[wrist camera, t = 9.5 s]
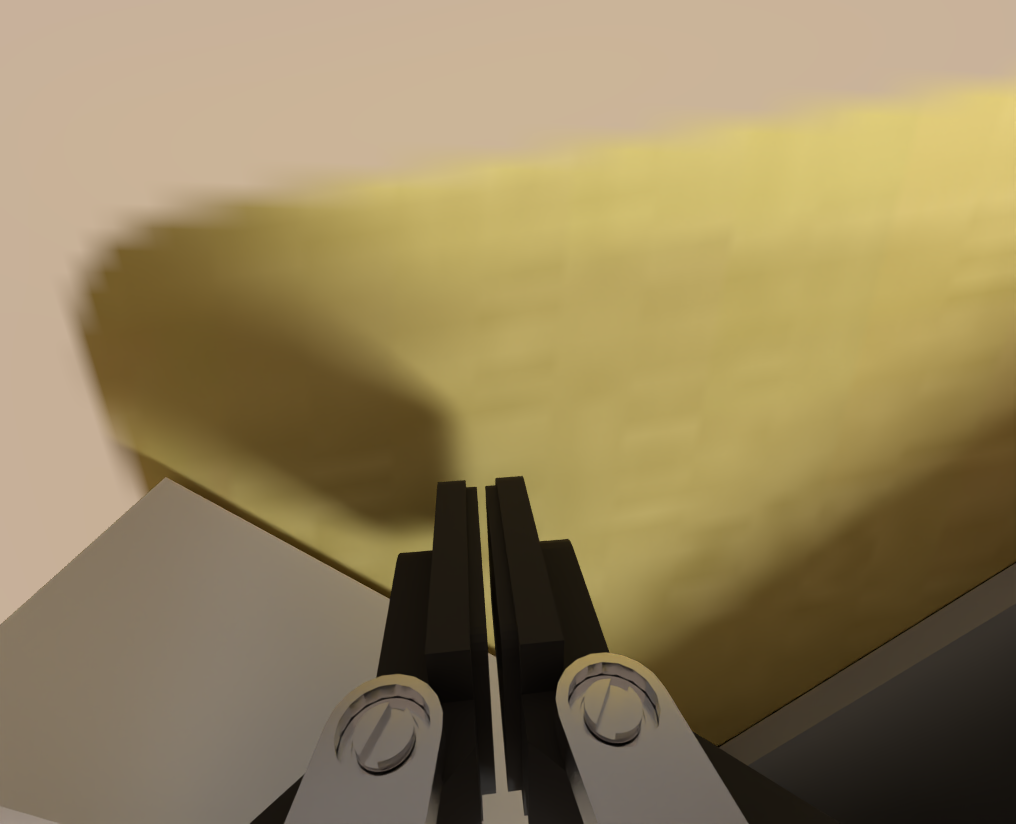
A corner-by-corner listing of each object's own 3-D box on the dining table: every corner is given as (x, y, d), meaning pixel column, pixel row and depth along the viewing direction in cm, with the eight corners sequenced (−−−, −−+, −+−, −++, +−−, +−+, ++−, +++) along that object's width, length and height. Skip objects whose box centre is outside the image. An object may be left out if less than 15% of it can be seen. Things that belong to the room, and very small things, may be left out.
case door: (699, 763, 15) (821, 1040, 10) (653, 798, 15) (747, 1080, 10) (169, 471, 10) (-148, 753, 5) (122, 538, 10) (-212, 860, 5)
